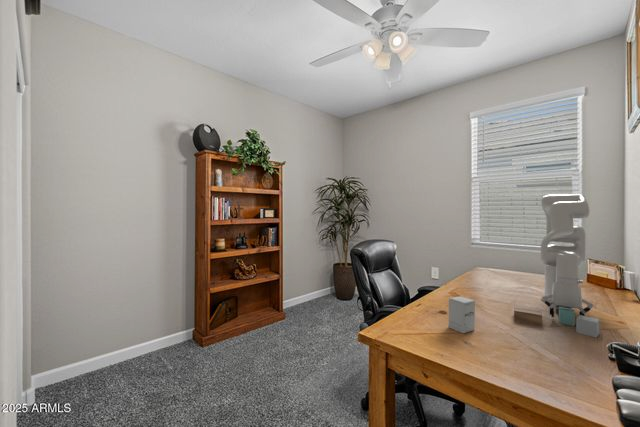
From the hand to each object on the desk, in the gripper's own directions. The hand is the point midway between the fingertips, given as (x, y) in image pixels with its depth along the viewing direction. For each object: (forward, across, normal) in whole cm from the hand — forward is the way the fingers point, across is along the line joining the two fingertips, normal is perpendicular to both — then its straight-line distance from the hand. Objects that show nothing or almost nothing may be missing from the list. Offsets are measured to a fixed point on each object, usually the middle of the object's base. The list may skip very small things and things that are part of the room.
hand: (566, 319), depth 126 cm
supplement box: (+2, +36, +37) cm, 52 cm away
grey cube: (+2, -6, +9) cm, 11 cm away
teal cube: (+2, 0, 0) cm, 2 cm away
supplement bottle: (+2, 0, -13) cm, 13 cm away
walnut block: (+2, +14, +7) cm, 16 cm away
